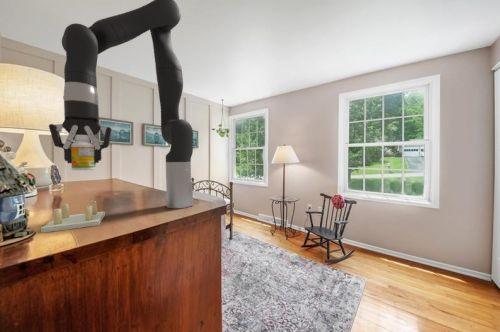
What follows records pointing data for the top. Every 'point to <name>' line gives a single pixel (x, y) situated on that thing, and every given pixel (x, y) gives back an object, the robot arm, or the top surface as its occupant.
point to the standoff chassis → (74, 218)
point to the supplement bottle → (82, 153)
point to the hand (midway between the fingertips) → (83, 162)
